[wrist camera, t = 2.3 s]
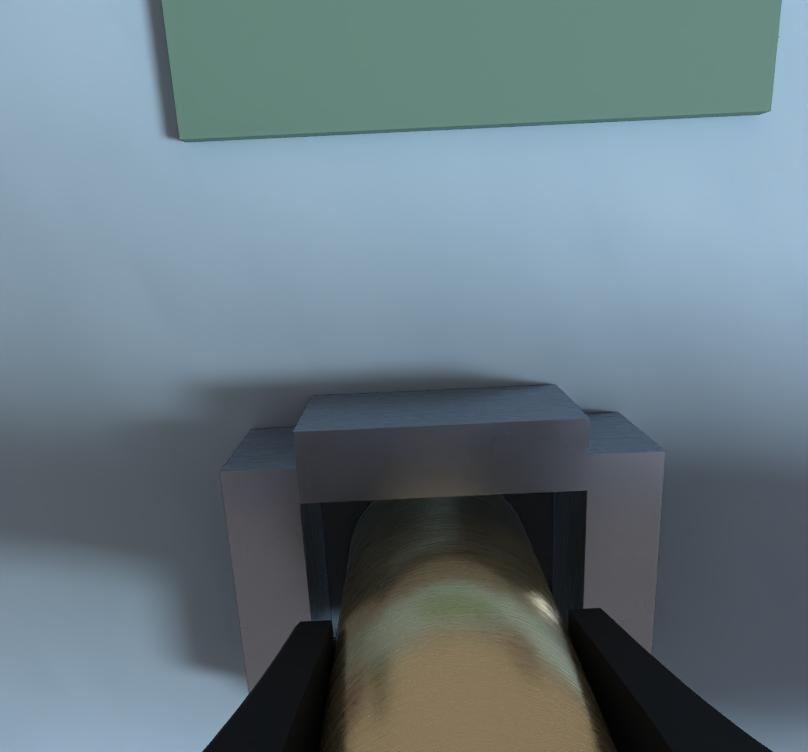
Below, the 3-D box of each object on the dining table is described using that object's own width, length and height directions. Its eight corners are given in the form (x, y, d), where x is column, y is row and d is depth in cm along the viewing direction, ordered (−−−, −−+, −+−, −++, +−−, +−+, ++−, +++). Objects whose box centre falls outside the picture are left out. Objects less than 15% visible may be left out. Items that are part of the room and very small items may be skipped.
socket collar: (620, 381, 14) (667, 414, 11) (605, 693, 16) (643, 778, 13) (247, 398, 14) (215, 435, 11) (283, 707, 16) (262, 795, 13)
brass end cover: (529, 469, 14) (685, 759, 6) (527, 629, 15) (660, 1043, 8) (343, 477, 14) (275, 778, 6) (355, 637, 15) (310, 1057, 8)
